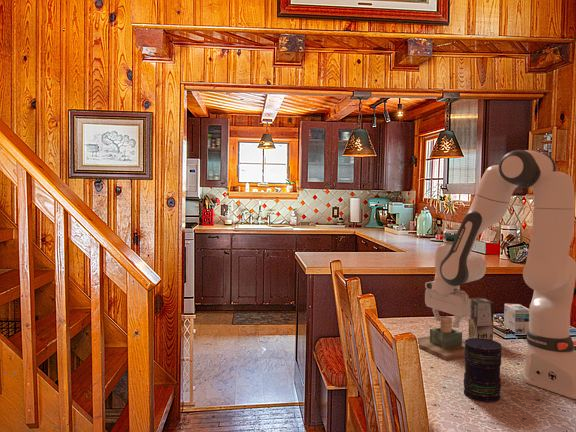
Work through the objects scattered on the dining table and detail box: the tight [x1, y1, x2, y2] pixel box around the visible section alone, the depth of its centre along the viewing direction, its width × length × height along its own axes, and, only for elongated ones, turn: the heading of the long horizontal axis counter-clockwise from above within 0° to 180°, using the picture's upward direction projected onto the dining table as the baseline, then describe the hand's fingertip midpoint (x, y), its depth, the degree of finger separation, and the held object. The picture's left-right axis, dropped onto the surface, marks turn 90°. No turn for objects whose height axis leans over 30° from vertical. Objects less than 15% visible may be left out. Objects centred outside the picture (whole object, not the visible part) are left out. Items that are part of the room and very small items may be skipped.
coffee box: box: [468, 297, 495, 341], centre depth 184 cm, size 9×6×16 cm
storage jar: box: [463, 338, 503, 403], centre depth 135 cm, size 10×10×15 cm
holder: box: [416, 327, 465, 361], centre depth 176 cm, size 20×18×6 cm
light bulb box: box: [503, 303, 530, 335], centre depth 196 cm, size 11×7×11 cm, turn 179°
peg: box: [439, 315, 453, 334], centre depth 176 cm, size 4×4×10 cm
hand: (446, 323), depth 176 cm, fingers open, 8 cm apart
